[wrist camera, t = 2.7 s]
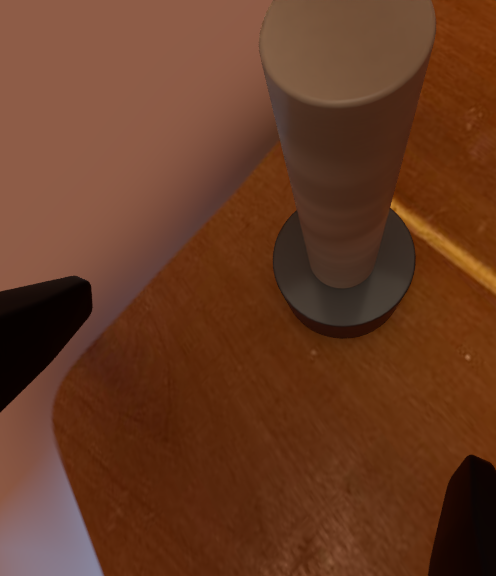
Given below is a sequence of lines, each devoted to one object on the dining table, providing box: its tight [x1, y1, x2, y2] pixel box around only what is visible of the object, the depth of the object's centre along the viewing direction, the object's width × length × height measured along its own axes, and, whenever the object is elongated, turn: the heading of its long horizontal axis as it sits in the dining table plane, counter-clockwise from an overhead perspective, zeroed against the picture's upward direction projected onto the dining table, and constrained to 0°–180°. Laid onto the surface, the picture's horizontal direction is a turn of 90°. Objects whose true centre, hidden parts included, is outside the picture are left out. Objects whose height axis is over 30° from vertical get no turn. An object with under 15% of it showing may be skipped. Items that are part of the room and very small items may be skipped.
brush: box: [259, 0, 436, 339], centre depth 14 cm, size 6×6×16 cm
